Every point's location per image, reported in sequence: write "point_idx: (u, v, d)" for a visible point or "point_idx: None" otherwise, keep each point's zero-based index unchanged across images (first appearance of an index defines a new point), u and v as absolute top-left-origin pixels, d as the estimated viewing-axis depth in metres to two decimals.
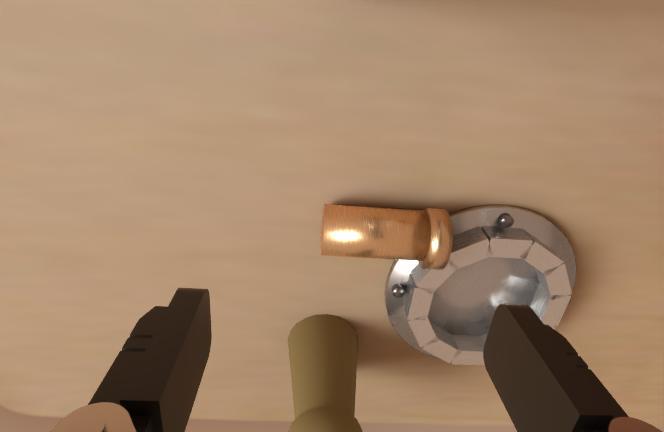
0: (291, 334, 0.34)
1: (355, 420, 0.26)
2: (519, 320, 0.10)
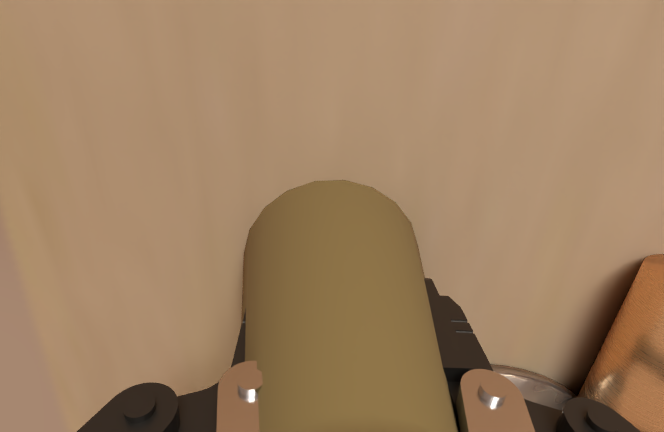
0: (375, 195, 0.13)
1: None
2: None
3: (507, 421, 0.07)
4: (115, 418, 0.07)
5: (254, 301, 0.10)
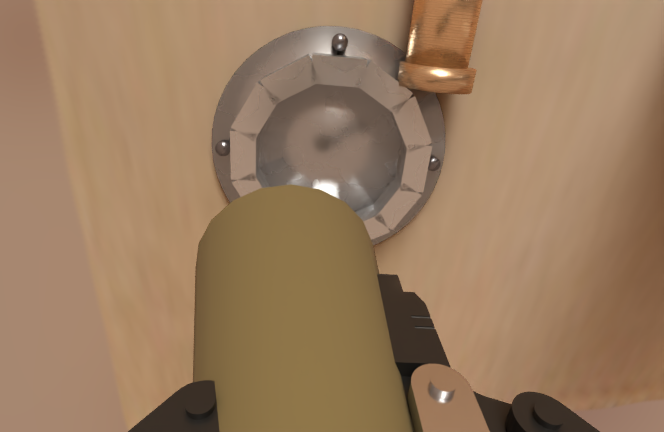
0: (323, 197, 0.12)
1: None
2: (380, 286, 0.11)
3: (453, 415, 0.07)
4: (177, 411, 0.07)
5: (203, 321, 0.09)
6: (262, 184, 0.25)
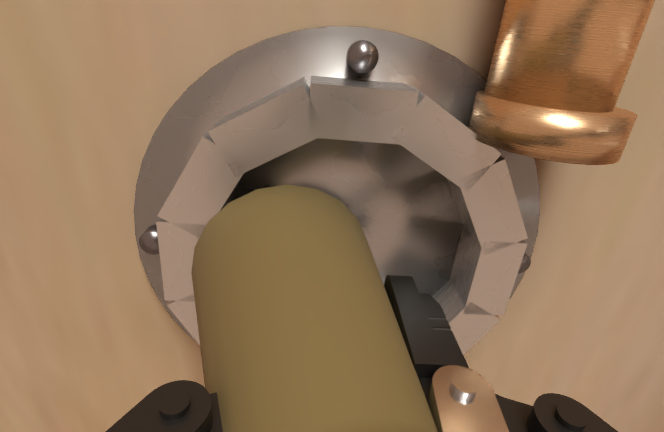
0: (320, 196, 0.13)
1: None
2: (396, 288, 0.11)
3: (476, 417, 0.07)
4: (151, 413, 0.07)
5: (212, 322, 0.09)
6: None
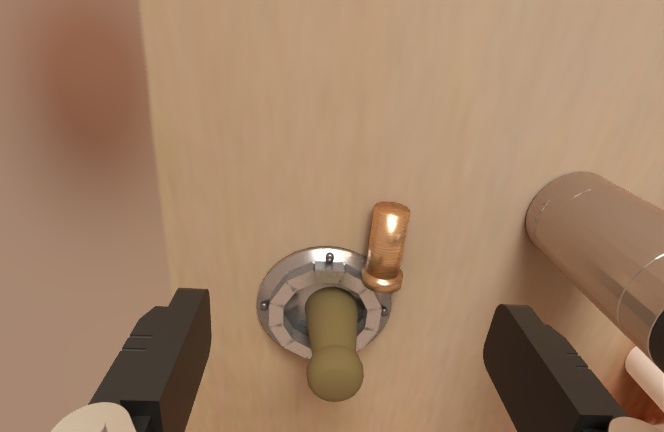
0: (342, 291, 0.44)
1: None
2: (519, 320, 0.10)
3: None
4: None
5: (311, 323, 0.41)
6: (286, 327, 0.44)
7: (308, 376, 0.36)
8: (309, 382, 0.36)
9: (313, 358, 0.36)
